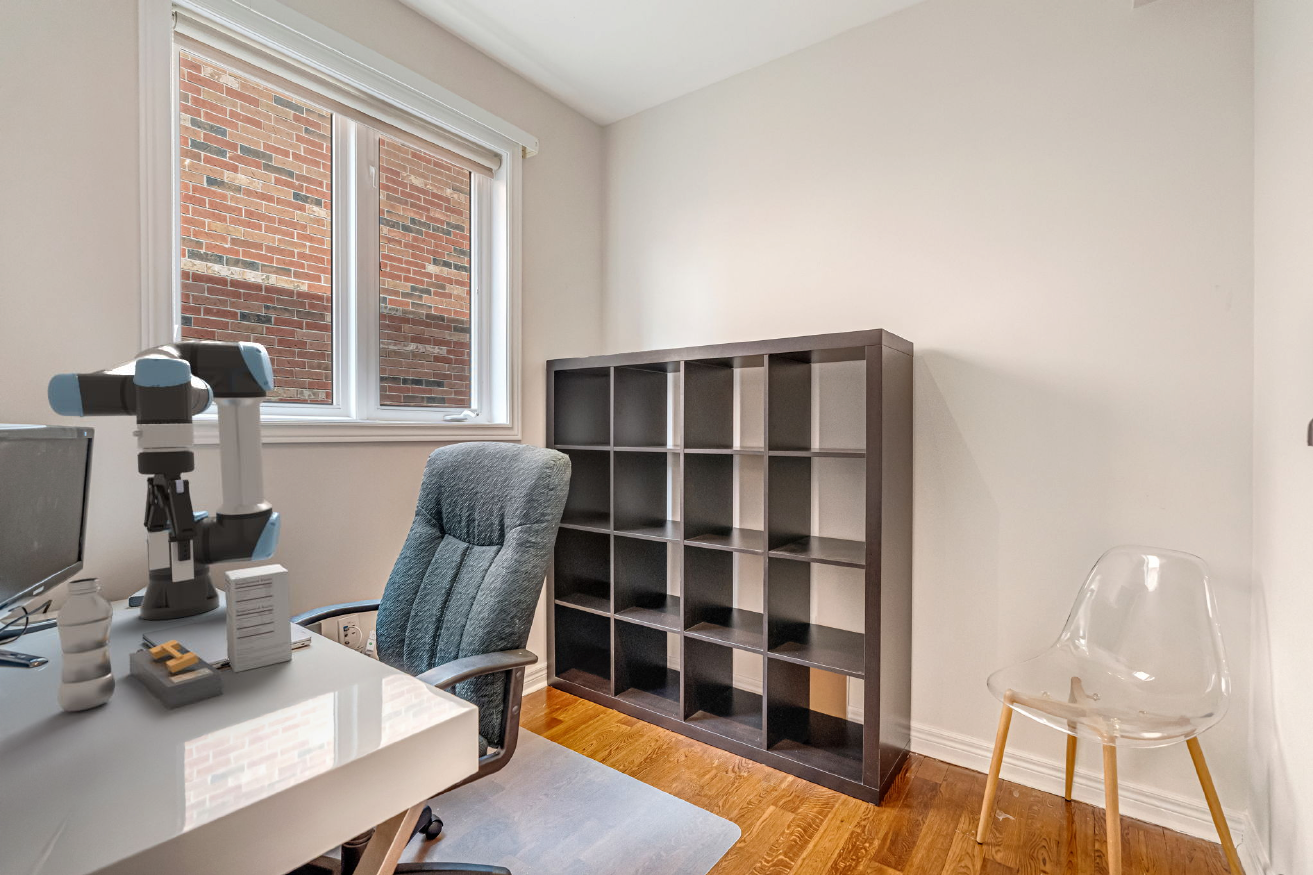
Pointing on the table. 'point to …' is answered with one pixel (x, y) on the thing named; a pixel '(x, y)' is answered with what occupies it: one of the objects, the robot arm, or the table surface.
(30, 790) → the table surface
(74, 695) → the plastic bottle
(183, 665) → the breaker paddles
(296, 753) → the table surface
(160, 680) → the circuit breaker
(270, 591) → the supplement box
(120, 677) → the table surface
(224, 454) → the robot arm
